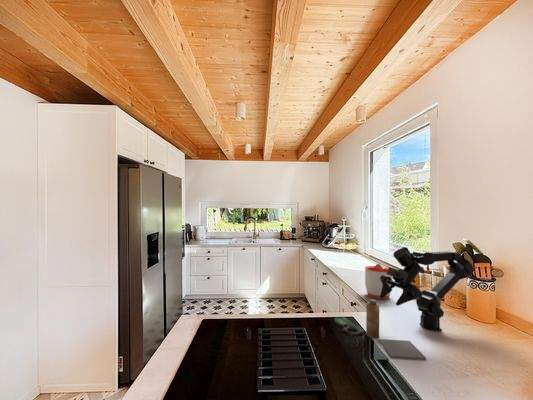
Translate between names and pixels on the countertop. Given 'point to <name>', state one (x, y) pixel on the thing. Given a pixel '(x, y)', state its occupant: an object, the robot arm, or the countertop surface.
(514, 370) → the countertop surface
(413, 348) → the trivet mat
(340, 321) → the gun
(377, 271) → the citrus juicer
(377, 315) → the pepper mill
